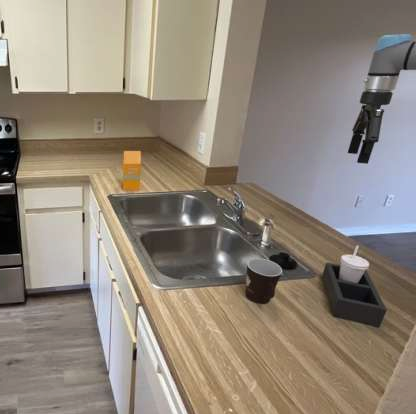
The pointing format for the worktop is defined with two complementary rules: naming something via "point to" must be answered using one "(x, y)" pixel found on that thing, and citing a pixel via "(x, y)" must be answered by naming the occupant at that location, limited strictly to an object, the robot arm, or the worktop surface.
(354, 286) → the cup holder
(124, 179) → the orange juice
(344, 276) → the smoothie
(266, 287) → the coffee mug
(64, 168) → the worktop surface
